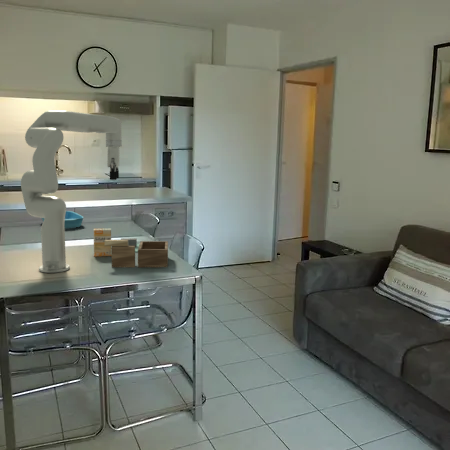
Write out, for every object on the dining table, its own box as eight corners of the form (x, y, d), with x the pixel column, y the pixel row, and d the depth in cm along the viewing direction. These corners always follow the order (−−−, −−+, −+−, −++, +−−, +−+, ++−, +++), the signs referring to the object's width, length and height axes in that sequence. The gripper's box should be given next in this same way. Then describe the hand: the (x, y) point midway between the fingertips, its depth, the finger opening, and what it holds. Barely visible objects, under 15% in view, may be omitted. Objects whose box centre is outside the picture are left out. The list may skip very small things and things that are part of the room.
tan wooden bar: (127, 246, 215) (127, 240, 214) (104, 246, 214) (104, 240, 213) (128, 245, 217) (128, 239, 217) (105, 245, 216) (105, 239, 216)
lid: (140, 253, 245) (139, 243, 244) (113, 253, 243) (113, 243, 242) (142, 245, 262) (142, 236, 261) (117, 245, 261) (117, 236, 260)
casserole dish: (88, 228, 305) (87, 217, 304) (51, 231, 293) (51, 220, 292) (70, 220, 335) (70, 209, 334) (37, 222, 323) (36, 211, 322)
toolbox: (167, 267, 218) (167, 247, 216) (111, 267, 215) (111, 247, 213) (167, 257, 235) (167, 238, 234) (116, 257, 233) (115, 238, 231)
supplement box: (94, 257, 233) (93, 230, 231) (93, 254, 238) (93, 228, 236) (111, 256, 236) (111, 229, 233) (111, 253, 240) (110, 227, 238)
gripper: (108, 143, 247) (108, 177, 250) (103, 144, 230) (104, 180, 233) (123, 143, 248) (123, 177, 251) (119, 144, 231) (120, 180, 234)
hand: (114, 178), depth 242 cm, fingers open, 9 cm apart
